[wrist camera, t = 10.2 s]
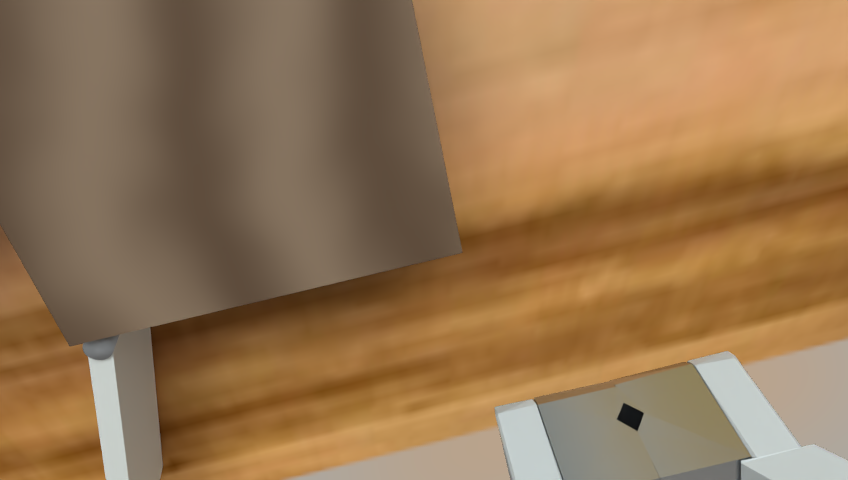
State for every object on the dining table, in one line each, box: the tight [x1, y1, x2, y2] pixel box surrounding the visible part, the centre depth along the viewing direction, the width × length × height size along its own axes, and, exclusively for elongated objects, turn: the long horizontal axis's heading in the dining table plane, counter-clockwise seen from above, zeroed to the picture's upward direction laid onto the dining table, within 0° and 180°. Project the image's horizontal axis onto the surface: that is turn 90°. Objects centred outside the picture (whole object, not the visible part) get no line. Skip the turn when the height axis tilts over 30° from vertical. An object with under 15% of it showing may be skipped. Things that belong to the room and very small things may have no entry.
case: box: [0, 0, 462, 346], centre depth 30 cm, size 16×13×8 cm
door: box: [83, 327, 163, 480], centre depth 37 cm, size 15×2×7 cm, turn 174°
